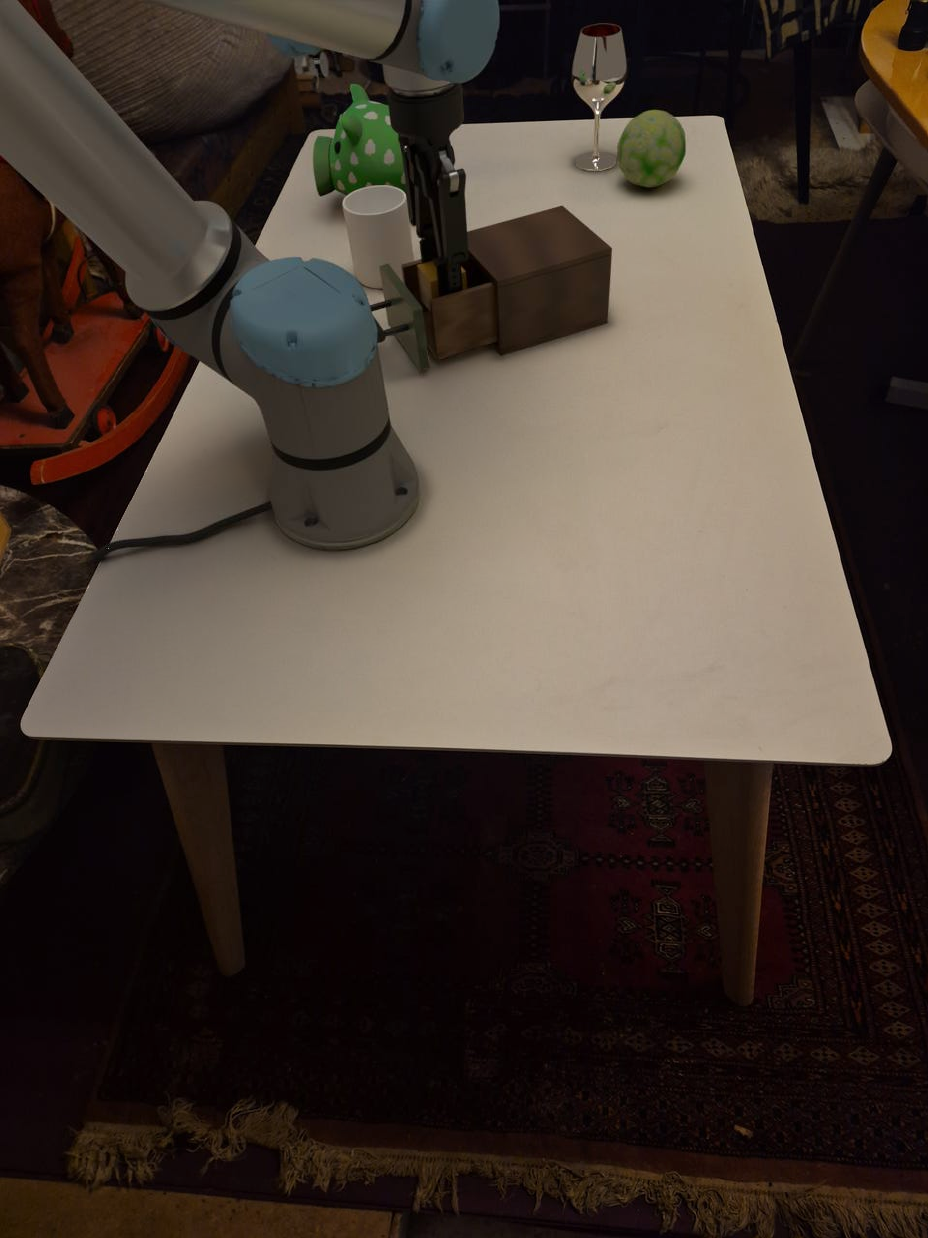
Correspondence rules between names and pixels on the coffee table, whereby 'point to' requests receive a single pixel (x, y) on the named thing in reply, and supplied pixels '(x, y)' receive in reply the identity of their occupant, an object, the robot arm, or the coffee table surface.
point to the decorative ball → (651, 148)
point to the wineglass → (599, 80)
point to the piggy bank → (359, 150)
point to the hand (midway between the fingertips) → (444, 300)
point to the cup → (378, 232)
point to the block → (432, 282)
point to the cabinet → (543, 276)
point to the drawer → (437, 314)
